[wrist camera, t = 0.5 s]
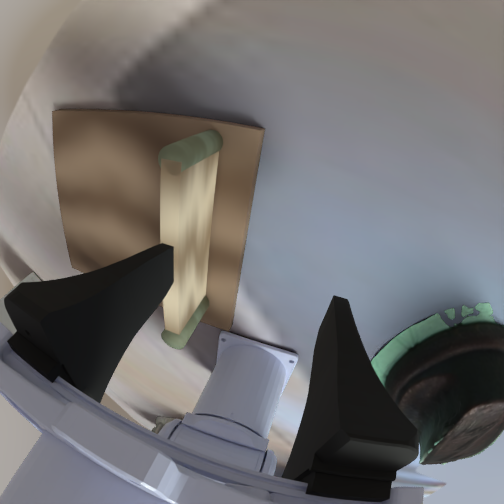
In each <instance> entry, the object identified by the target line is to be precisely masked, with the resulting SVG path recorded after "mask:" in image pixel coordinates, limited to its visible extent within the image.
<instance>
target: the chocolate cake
mask: <svg viewBox="0 0 504 504" xmlns="http://www.w3.org/2000/svg"><path fill="white" fill-rule="evenodd" d="M475 309H476V310H477V311H479V312H480V314H479V315H478V316H468V314H473V308H471V309H470V308H467V307H466V306H465V305H464V306H462V313H461V315H462V316H463V317H465V316H466V315H467V317H466V318H465V319H463V321H462V322H461V323H459V324H454V325H455V326H453V327H450V326H448V325H446V324H445V322H444V321H443V320H442V319H441V317H440V315H439V314H438V313H437V314H435V315H433V316H431V317H430V318H428V319H426V320H424V321H422V322H420V323H418V324H415V325H413V326H410V327H409V328H408V329H406V330H405V331H403V332H402V333H400V334H399V335H397V336H396V337H395V338H394V339H392V340H391V341H390V342H389V343H388V344H387V345H386V346H385V347H384V348H383V349H382V350H381V351H380V352H379V353H378V354H377V355H376V356H375V357H374V358H373V360H372V361H371V364H372V366H373V368H374V370H375V372H376V374H377V376H378V377H379V379H380V381H381V383H382V384H383V386H384V387H385V389H386V390H387V392H388V393H389V395H390V396H391V398H392V399H393V401H394V402H395V403H396V405H397V406H398V407H399V409H400V410H401V411H402V412H403V414H404V415H405V416H406V417H407V418H408V419H409V420H410V422H411V423H412V424H413V425H414V426H415V427H416V428H417V429H418V437H419V444H420V461H419V463H420V464H422V465H426V464H441V463H443V465H444V464H446V463H448V462H451V461H452V462H453V461H456V460H458V459H465V458H469V457H472V456H475V455H477V454H480V453H481V452H483V451H484V450H485V449H486V448H488V447H489V446H491V445H492V444H493V443H494V442H495V441H496V439H497V438H498V437H499V436H500V435H501V433H502V432H503V430H504V325H500V324H497V323H496V322H495V321H494V319H493V316H490V315H492V314H493V310H492V308H491V307H490V304H489V303H478V304H477V305H476V306H475ZM444 312H445V313H446V314H447V315H448V317H449V318H450V319H454V318H455V310H454V308H451V309H448V310H445V311H444Z"/></svg>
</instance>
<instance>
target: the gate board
mask: <svg viewBox="0 0 504 504" xmlns="http://www.w3.org/2000/svg"><path fill="white" fill-rule="evenodd" d="M52 122H53V146H54V160H55V171H56V180H57V189H58V196H59V203H60V210H61V216H62V222H63V227H64V233H65V238H66V243H67V248H68V252H69V257H70V261H71V265H72V268H74V269H76V270H79V271H81V272H83V273H88V272H91V271H94V270H97V269H100V268H103V267H106V266H108V265H111V264H113V263H116V262H118V261H121V260H123V259H126V258H128V257H130V256H133V255H135V254H137V253H139V252H142V251H144V250H146V249H148V248H151V247H153V246H155V245H158V244H160V184H161V167H160V165H159V162H158V155H159V152H160V150H161V149H162V148H163V147H165V146H167V145H169V144H172V143H174V142H177V141H180V140H182V139H185V138H188V137H190V136H193V135H196V134H199V133H201V132H204V131H207V130H215V131H217V132H219V133H220V134H221V136H222V138H223V146H222V148H221V150H220V151H219V157H218V166H217V175H216V184H215V193H214V203H213V213H212V224H211V235H210V246H209V258H208V271H207V284H206V295H205V296H206V297H207V298H208V300H209V307H208V309H207V310H206V312H205V313H204V315H203V317H202V318H201V320H200V322H203V323H206V324H208V325H211V326H214V327H217V328H220V329H223V330H225V331H228V332H229V330H230V328H231V326H232V324H233V318H234V312H235V305H236V299H237V293H238V287H239V280H240V274H241V268H242V262H243V256H244V250H245V244H246V238H247V232H248V225H249V219H250V213H251V207H252V201H253V195H254V190H255V184H256V178H257V172H258V166H259V160H260V154H261V148H262V142H263V137H264V131H265V129H264V128H259V127H254V126H249V125H243V124H238V123H232V122H226V121H220V120H213V119H206V118H199V117H192V116H184V115H175V114H165V113H155V112H142V111H127V110H105V109H59V110H56V111H52ZM159 306H161V307H163V301H162V302H161V303H160V304H159Z"/></svg>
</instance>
